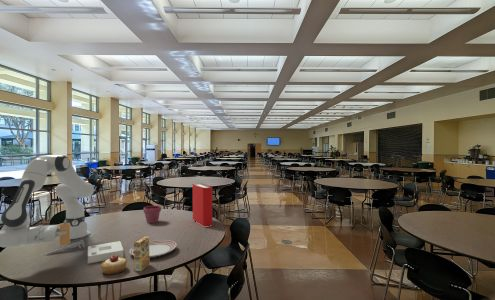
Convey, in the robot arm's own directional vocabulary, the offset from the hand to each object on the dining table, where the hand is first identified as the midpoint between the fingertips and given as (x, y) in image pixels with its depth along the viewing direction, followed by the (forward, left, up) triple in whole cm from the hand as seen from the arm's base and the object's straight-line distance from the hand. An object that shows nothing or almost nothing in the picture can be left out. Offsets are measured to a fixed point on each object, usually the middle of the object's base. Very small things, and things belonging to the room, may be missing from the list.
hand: (67, 230), depth 154 cm
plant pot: (-61, +58, -18) cm, 86 cm away
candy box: (+30, +35, -18) cm, 50 cm away
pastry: (+26, +22, -18) cm, 38 cm away
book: (-35, +94, -18) cm, 102 cm away
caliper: (-19, -2, -18) cm, 26 cm away
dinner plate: (+10, +45, -18) cm, 50 cm away
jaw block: (0, -1, -7) cm, 7 cm away
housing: (0, +19, -17) cm, 26 cm away
